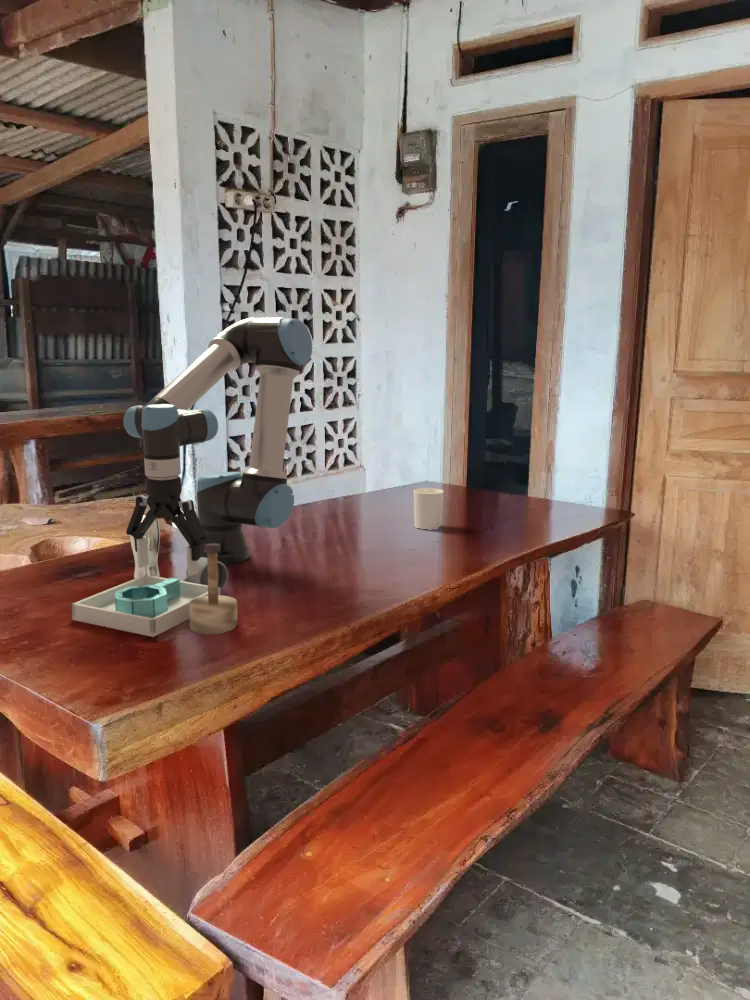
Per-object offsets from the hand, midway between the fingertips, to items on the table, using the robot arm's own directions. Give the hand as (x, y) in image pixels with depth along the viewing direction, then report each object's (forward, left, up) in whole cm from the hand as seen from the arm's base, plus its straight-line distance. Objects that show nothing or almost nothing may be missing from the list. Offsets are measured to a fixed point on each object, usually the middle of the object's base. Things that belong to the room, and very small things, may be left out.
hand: (167, 570), depth 172 cm
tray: (+7, 0, -7) cm, 10 cm away
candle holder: (-95, +27, -8) cm, 100 cm away
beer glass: (-12, -17, -8) cm, 22 cm away
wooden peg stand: (+8, +17, -7) cm, 20 cm away
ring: (+6, 0, -7) cm, 9 cm away
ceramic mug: (-10, +2, -8) cm, 13 cm away
